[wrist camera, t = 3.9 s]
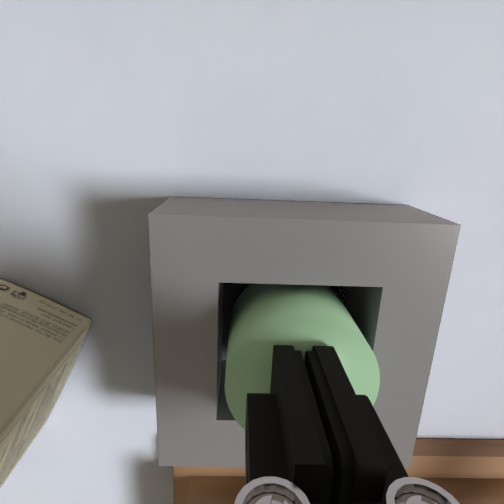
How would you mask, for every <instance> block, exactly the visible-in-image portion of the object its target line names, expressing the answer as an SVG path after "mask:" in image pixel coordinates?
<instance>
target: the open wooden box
mask: <svg viewBox="0 0 504 504" xmlns="http://www.w3.org/2000/svg"><path fill="white" fill-rule="evenodd" d="M405 470H406V472H407V474H408V476H409V477H417V478H421V479H424V480H428V481H430V482H432V483H434V484H436V485H438V486H440V487H442V488H443V489H444V490H446V491H447V492H448V493H450V494H451V495H452V496H453V497H454V498H455V499H456V500H457V501H458V502H459V503H460V504H504V440H497V439H416V441H415V445H414V450H413V455H412V460H411V465H410V468H405ZM173 474H174V504H234V503H235V500H236V497H237V495H238V493H239V492H240V491H241V489H242V488H243V487H244V486H245V485H246V469H245V467H192V466H173Z"/></svg>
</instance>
